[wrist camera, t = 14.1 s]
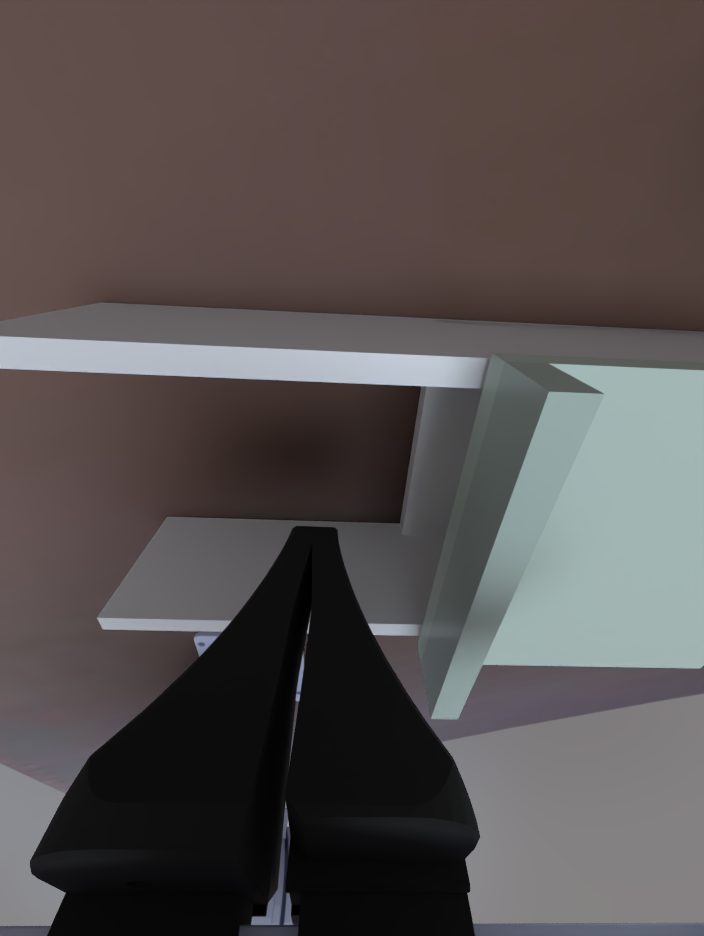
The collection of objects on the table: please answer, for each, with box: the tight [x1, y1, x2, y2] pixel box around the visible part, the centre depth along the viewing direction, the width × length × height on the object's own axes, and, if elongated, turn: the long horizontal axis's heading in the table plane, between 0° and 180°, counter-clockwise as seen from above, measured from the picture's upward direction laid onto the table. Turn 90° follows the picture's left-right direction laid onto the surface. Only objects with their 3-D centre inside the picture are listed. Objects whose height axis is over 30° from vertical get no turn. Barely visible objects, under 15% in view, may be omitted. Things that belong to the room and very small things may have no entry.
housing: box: [0, 302, 704, 636], centre depth 15 cm, size 12×26×6 cm, turn 87°
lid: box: [418, 353, 704, 719], centre depth 11 cm, size 12×12×3 cm
